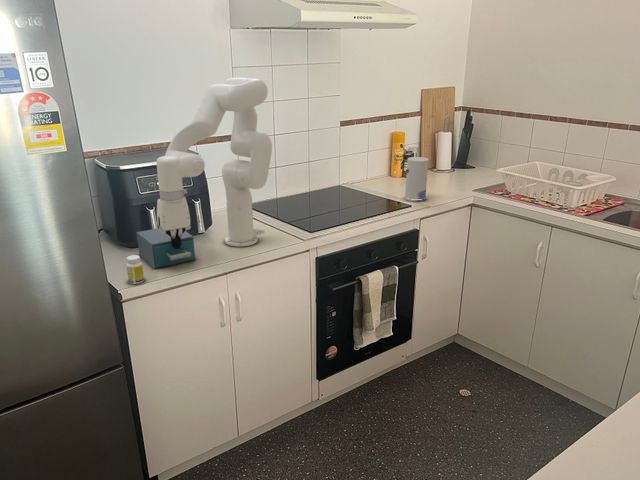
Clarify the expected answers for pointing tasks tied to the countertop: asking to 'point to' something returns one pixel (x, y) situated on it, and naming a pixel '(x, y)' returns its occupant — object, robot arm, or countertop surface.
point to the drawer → (174, 253)
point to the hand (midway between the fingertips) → (176, 247)
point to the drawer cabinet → (156, 244)
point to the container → (416, 178)
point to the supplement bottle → (135, 269)
